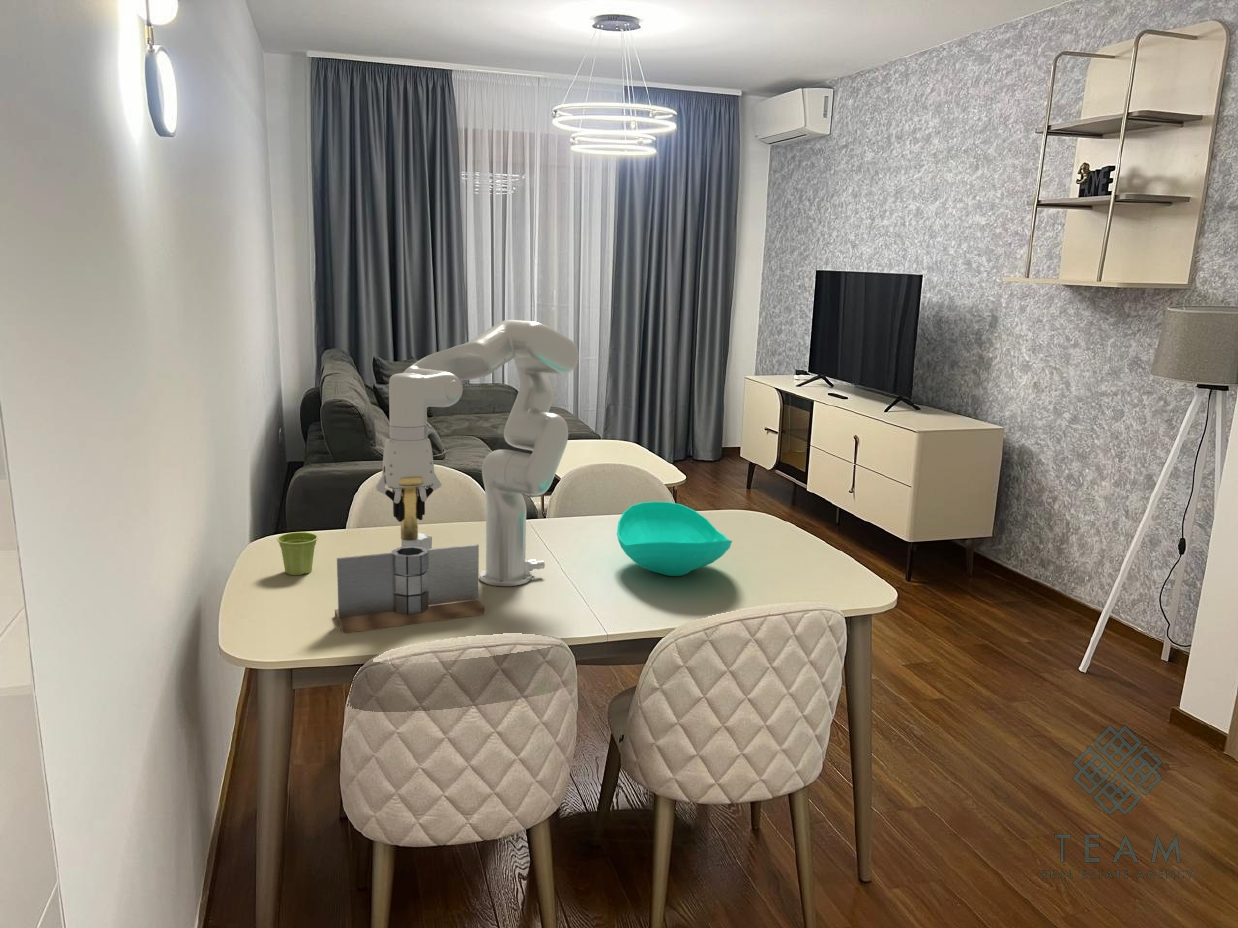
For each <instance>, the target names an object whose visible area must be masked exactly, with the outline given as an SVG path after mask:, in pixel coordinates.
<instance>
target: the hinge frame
mask: <svg viewBox="0 0 1238 928" xmlns="http://www.w3.org/2000/svg"><path fill="white" fill-rule="evenodd" d="M427 570H428V551H427V550H426V548H422V547H415V546H413V547H412V546H409V547H397V548H395V549H393V550H391V552H385V553H376V554H366V555H365V554H364V555H356V556H355V555H354V556H344V557H337V558H336V577H337V579H336V580H337V583H336V584H337V609H338V617H339V618H346V617H354V616H362V615H370V614H377V613H385V612H393V611H394V612H395V613H398V614H404V615H413V614H421V613H423V612H425V611H426V610H428V609H429V591H428V590H427V591H425V592H424V593H421V594H415V595H402V594H396V593H394V573H396V574H402V575H415V574H420V573H424V572H425V571H427Z"/></svg>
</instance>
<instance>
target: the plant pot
mask: <svg viewBox="0 0 1238 928" xmlns="http://www.w3.org/2000/svg"><path fill="white" fill-rule="evenodd" d="M318 539H319V536H318V535H317V534H316V533H313V532H307V531H296V532H288V533H284V534H281V535H279V536H277V538H276V541H277V542H278V544H279V547H280V549H281V556H282V560H283V567H284V572H285V573H286V574H288V575H289V576H302V575H303V574H306V575H308V574H310V573H311V572H312V570H313V564H314V563H313V562H314V556H315V547H316V544H317V541H318ZM307 573H308V574H307Z"/></svg>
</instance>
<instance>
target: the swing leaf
mask: <svg viewBox="0 0 1238 928" xmlns="http://www.w3.org/2000/svg"><path fill="white" fill-rule="evenodd" d="M479 546H480V545H479V544H478V543H477V544H468V545H466V544H465V545H455V546H445V547H437V548H432V549H428V570H427V571H425V572H424V573H420V574H415V575H402V574H396V573H394V593H396V594H402V595H415V594H421V593H424V592H425V591H427V590H428V591H429V605H435V604H443V603H451V602H459V601H467V600H475V599H477V600H479V595H480V594H479V591H480V590H479V588H480V587H479V581H480V578H479V574H480V573H479V569H480V568H479V567H480V566H479V563H480V561H479V558H480V556H479V554H480V553H479Z"/></svg>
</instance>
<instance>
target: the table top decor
mask: <svg viewBox="0 0 1238 928" xmlns="http://www.w3.org/2000/svg"><path fill="white" fill-rule="evenodd" d="M616 529H617V531H616V536H617V540H618V543H619V546H620V548H621V550H622V551H623V553H625V555H626V556H627V557H628V558H629V559H631V560H632V562H634V563H636V564H637V565H638V566H640V567H641V568H644V569H646V570H648V571H650V572H651V571H652V572H653V573H657V574H660V575H663V576H668V577H681V576H685V575H687V574H689V573H690V572H692V571H694V570H699V569H701V568H704V567H707V566H708V565H712V564H713V563H714V562H716V561H717V560H719V559H720V558H721V557H723V556H724V554H726V553H727V552H728V551H729V549H730V548H731V545H732V543H733V540H732V539H729V538H727V536H725V534H723V533H722V532H720V531H719V530H718V529H717V528H716V527H715V526H713V524H712V523H711V522H710V521H709V520H708V519H707V518H706V517H704V516H703V515H702V514H700V513H699V512H698V511H697V510H694V509H692V508H690V507H688V506H686V505H683V504H680V503H677V502H676V503H674V502H670V501H646V502H645V501H644V502H638V503H636V504H632V505H631V506H629V507H628V508H627V509H626V510H625V511H623V512H622V515H621V516H620V518H619V520H618V522H617V528H616Z"/></svg>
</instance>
